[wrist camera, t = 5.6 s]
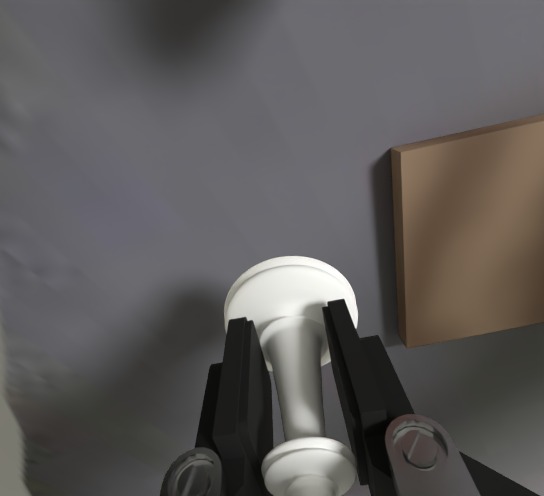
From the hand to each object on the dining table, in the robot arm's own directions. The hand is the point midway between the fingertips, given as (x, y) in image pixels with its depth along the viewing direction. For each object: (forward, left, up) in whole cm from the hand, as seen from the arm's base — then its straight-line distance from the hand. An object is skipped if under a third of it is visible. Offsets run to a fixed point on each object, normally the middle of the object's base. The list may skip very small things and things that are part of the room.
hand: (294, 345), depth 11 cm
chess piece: (0, 0, -2) cm, 2 cm away
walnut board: (-15, +2, -8) cm, 17 cm away
